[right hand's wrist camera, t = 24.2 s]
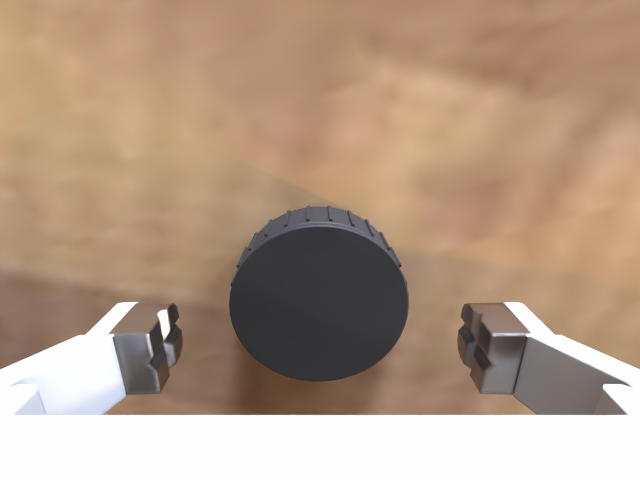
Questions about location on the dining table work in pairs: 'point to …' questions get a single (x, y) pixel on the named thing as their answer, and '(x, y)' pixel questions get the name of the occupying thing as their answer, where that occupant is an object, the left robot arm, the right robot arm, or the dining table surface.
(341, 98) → the dining table surface
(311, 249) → the lid
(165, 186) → the dining table surface
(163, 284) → the dining table surface
